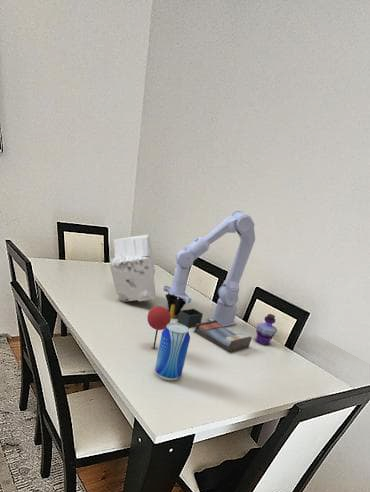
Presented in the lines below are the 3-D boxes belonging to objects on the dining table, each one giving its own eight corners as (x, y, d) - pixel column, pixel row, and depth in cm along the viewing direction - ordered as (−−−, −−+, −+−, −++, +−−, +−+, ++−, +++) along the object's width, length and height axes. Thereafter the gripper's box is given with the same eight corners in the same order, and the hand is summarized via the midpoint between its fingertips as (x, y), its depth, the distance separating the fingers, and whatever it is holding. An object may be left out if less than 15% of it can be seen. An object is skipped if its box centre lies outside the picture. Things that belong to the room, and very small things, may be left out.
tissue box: (156, 305, 160) (145, 242, 147) (119, 310, 162) (104, 248, 148) (159, 291, 178) (149, 234, 164) (125, 296, 179) (112, 239, 165)
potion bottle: (255, 335, 163) (264, 309, 157) (274, 342, 161) (284, 316, 155) (249, 341, 156) (258, 314, 150) (269, 349, 154) (279, 321, 148)
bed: (213, 327, 161) (216, 317, 158) (248, 347, 151) (252, 337, 149) (194, 331, 153) (196, 321, 150) (229, 352, 143) (233, 342, 141)
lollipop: (167, 347, 135) (175, 307, 127) (159, 355, 129) (167, 313, 121) (147, 341, 136) (154, 300, 129) (139, 348, 130) (145, 306, 122)
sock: (172, 314, 164) (175, 303, 161) (178, 317, 162) (180, 306, 159) (167, 315, 162) (169, 304, 159) (172, 318, 160) (174, 307, 157)
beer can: (153, 366, 122) (162, 319, 113) (179, 370, 123) (190, 324, 115) (154, 380, 115) (164, 331, 106) (181, 383, 116) (193, 335, 108)
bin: (190, 319, 163) (193, 308, 160) (200, 325, 160) (203, 313, 158) (177, 321, 158) (180, 310, 155) (187, 327, 155) (189, 315, 152)
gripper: (160, 275, 155) (155, 307, 162) (185, 288, 147) (178, 321, 155) (173, 275, 160) (167, 306, 167) (197, 287, 152) (190, 319, 159)
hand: (173, 313), depth 161 cm, fingers closed on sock, 3 cm apart
